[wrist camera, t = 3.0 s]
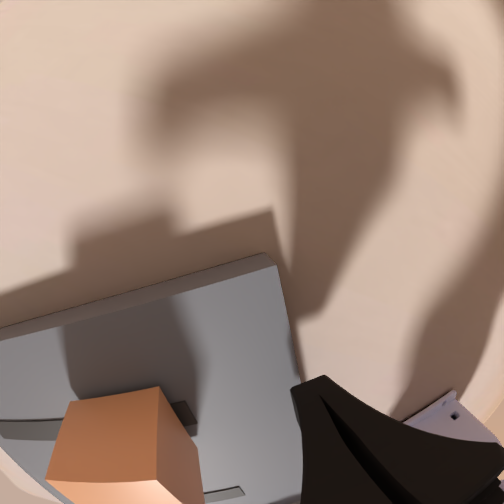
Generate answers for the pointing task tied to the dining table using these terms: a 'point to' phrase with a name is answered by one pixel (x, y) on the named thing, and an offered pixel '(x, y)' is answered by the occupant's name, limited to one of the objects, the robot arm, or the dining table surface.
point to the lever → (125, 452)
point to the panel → (170, 375)
